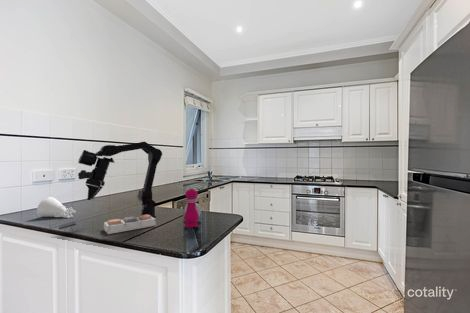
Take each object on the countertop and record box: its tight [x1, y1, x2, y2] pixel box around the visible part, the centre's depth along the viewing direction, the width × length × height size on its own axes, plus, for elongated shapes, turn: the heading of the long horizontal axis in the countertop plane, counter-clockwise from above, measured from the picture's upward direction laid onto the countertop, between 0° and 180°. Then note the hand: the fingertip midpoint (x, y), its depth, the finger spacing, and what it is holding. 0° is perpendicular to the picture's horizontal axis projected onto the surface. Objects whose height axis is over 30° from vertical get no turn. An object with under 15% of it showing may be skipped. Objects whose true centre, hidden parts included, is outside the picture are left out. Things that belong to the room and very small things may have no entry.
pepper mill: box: [183, 185, 200, 229], centre depth 118 cm, size 7×7×20 cm
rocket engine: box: [36, 196, 77, 219], centre depth 138 cm, size 12×12×18 cm
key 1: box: [107, 218, 122, 226], centre depth 112 cm, size 5×5×2 cm
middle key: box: [123, 216, 137, 223], centre depth 116 cm, size 5×5×2 cm
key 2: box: [138, 214, 151, 221], centre depth 121 cm, size 5×5×2 cm
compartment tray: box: [103, 216, 157, 235], centre depth 116 cm, size 21×9×3 cm, turn 129°
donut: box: [183, 202, 202, 217], centre depth 130 cm, size 10×4×10 cm, turn 68°
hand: (90, 199), depth 118 cm, fingers open, 9 cm apart
